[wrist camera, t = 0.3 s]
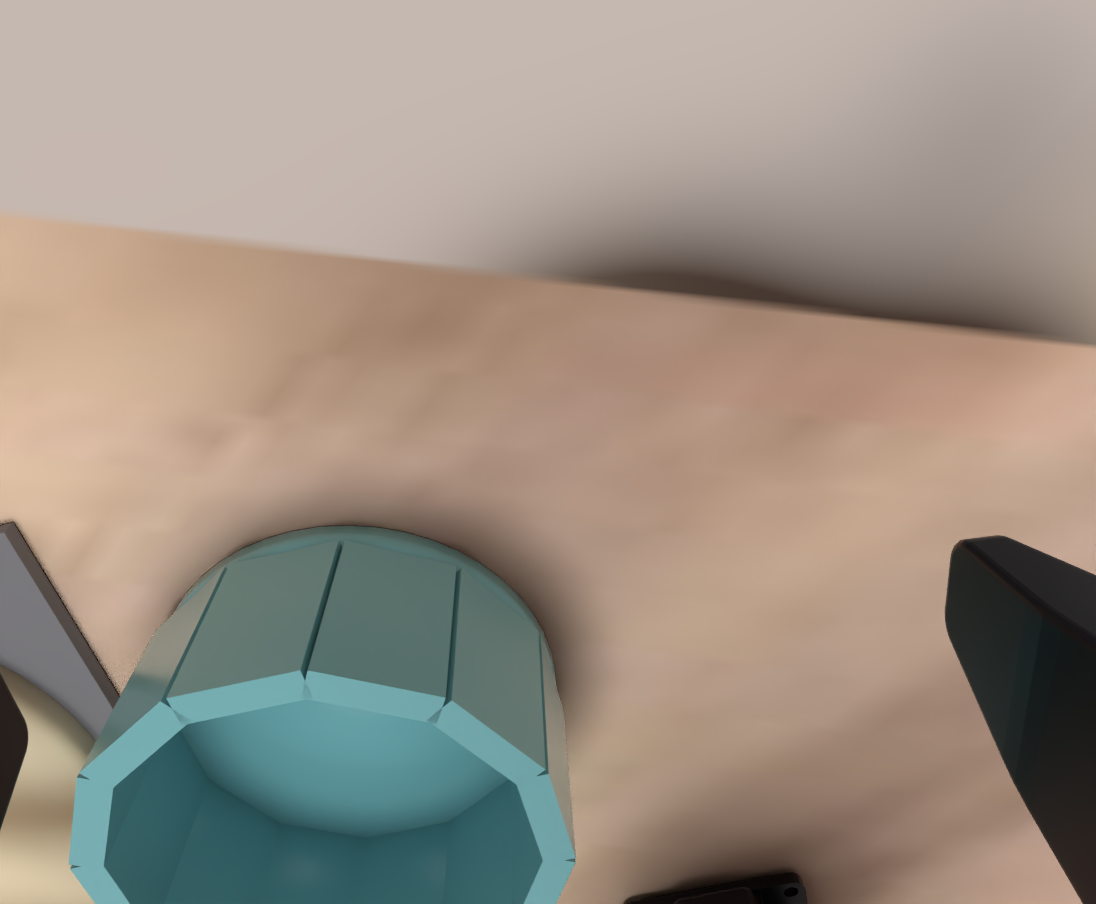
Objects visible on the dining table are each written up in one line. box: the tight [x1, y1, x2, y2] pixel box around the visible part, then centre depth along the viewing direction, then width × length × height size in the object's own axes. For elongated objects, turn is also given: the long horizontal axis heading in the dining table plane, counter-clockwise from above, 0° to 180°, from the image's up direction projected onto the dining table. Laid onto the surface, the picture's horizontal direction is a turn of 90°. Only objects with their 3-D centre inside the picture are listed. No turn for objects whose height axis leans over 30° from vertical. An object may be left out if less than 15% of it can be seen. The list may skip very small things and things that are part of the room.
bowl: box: [68, 526, 576, 904], centre depth 24 cm, size 12×12×6 cm
